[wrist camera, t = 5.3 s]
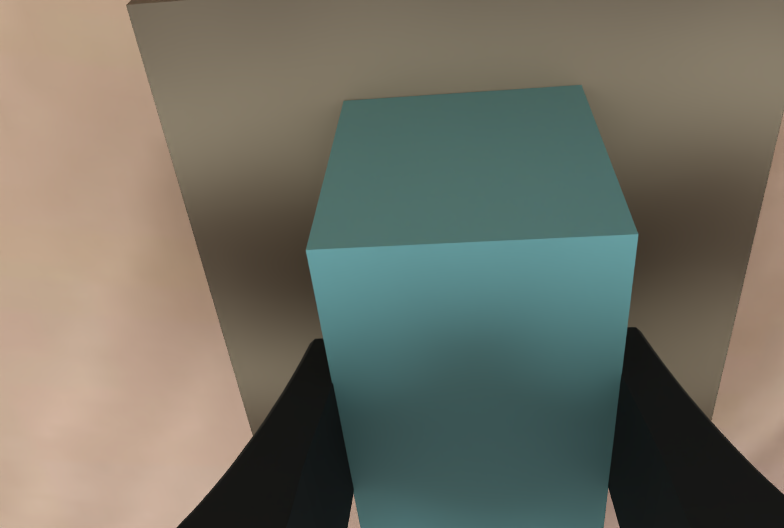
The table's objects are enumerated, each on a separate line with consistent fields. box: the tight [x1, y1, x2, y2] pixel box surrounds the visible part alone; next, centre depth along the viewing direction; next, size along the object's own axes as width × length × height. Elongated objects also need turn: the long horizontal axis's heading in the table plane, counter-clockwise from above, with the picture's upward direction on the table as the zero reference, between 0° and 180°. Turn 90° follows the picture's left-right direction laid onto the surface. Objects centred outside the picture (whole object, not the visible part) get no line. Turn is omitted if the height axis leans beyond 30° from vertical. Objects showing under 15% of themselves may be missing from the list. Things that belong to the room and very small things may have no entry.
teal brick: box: [306, 85, 638, 528], centre depth 15 cm, size 8×4×5 cm, turn 5°
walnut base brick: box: [126, 0, 784, 436], centre depth 18 cm, size 12×12×3 cm
